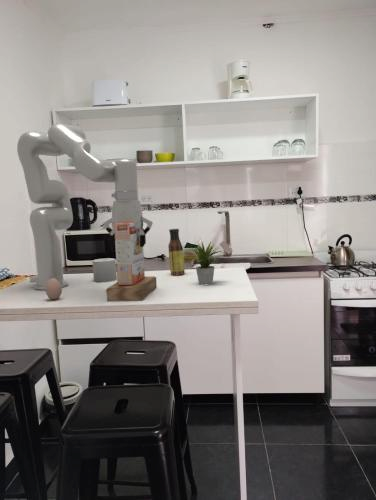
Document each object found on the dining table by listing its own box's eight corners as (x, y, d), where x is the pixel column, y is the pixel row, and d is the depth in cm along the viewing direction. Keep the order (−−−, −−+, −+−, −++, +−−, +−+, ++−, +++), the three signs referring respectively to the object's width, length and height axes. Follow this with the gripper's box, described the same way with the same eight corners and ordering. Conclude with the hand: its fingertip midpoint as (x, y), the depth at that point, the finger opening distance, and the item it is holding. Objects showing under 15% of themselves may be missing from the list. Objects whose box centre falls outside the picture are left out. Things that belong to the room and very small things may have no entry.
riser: (107, 301, 135) (106, 288, 135) (125, 287, 155) (124, 276, 154) (142, 300, 133) (141, 287, 133) (156, 287, 153) (156, 276, 153)
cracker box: (134, 285, 136) (130, 222, 134) (117, 286, 138) (112, 223, 135) (146, 277, 150) (142, 220, 148) (130, 278, 151) (126, 221, 149)
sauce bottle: (187, 273, 179) (185, 228, 177) (179, 276, 174) (177, 229, 171) (175, 272, 182) (172, 228, 180) (167, 275, 177) (164, 229, 175)
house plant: (219, 288, 146) (217, 242, 144) (182, 287, 151) (180, 243, 149) (228, 280, 159) (227, 238, 158) (194, 280, 164) (192, 239, 162)
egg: (43, 300, 141) (41, 279, 140) (55, 297, 145) (54, 276, 144) (53, 302, 138) (51, 280, 137) (65, 298, 142) (64, 277, 141)
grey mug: (107, 276, 183) (106, 256, 182) (119, 280, 172) (118, 259, 171) (88, 278, 178) (86, 259, 177) (99, 283, 167) (97, 262, 166)
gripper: (98, 197, 138) (101, 248, 140) (148, 196, 135) (150, 247, 138) (106, 197, 145) (108, 245, 148) (154, 196, 143) (155, 245, 145)
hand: (128, 246), depth 143 cm, fingers open, 9 cm apart
